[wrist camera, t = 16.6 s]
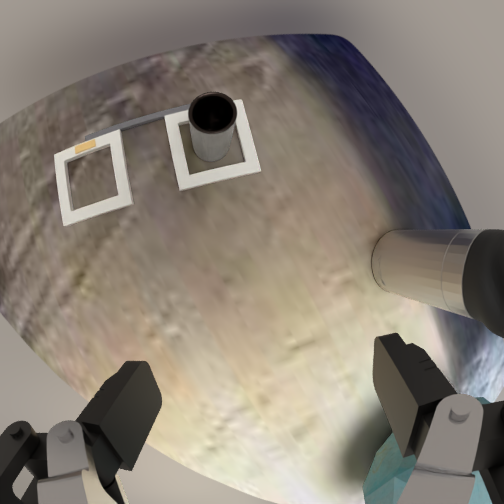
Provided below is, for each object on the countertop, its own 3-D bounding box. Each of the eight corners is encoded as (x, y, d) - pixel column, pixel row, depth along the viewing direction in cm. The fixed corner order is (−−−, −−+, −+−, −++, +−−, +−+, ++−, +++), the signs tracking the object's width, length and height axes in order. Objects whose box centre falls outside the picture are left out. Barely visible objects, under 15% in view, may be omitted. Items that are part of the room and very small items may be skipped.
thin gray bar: (201, 103, 34) (201, 101, 33) (203, 109, 34) (202, 106, 33) (87, 138, 32) (84, 136, 31) (87, 143, 32) (85, 141, 31)
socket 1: (121, 131, 32) (118, 128, 31) (134, 204, 33) (131, 203, 32) (57, 156, 31) (53, 154, 30) (67, 226, 32) (62, 226, 31)
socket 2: (240, 102, 34) (242, 98, 33) (259, 172, 35) (261, 170, 34) (165, 118, 33) (163, 114, 32) (180, 191, 34) (179, 189, 33)
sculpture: (368, 552, 28) (493, 565, 5) (296, 488, 34) (466, 511, 11) (432, 458, 46) (540, 435, 23) (384, 383, 52) (513, 336, 29)
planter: (222, 166, 35) (228, 140, 24) (188, 156, 34) (180, 126, 24) (234, 134, 35) (243, 99, 24) (200, 124, 34) (198, 86, 24)
